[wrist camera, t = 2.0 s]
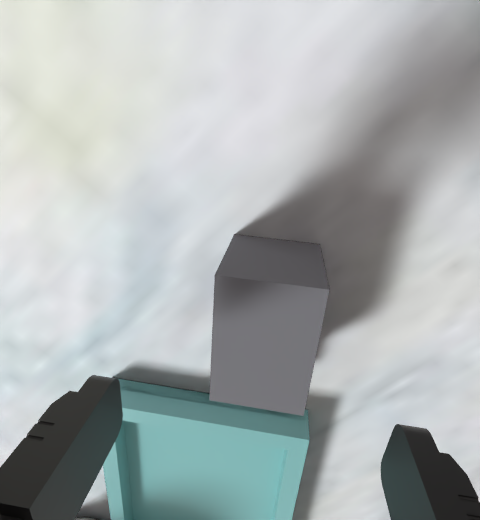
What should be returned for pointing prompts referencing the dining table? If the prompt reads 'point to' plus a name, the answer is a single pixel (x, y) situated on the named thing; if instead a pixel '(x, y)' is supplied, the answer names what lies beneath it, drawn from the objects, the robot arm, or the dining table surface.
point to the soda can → (85, 519)
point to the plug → (267, 323)
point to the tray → (202, 458)
